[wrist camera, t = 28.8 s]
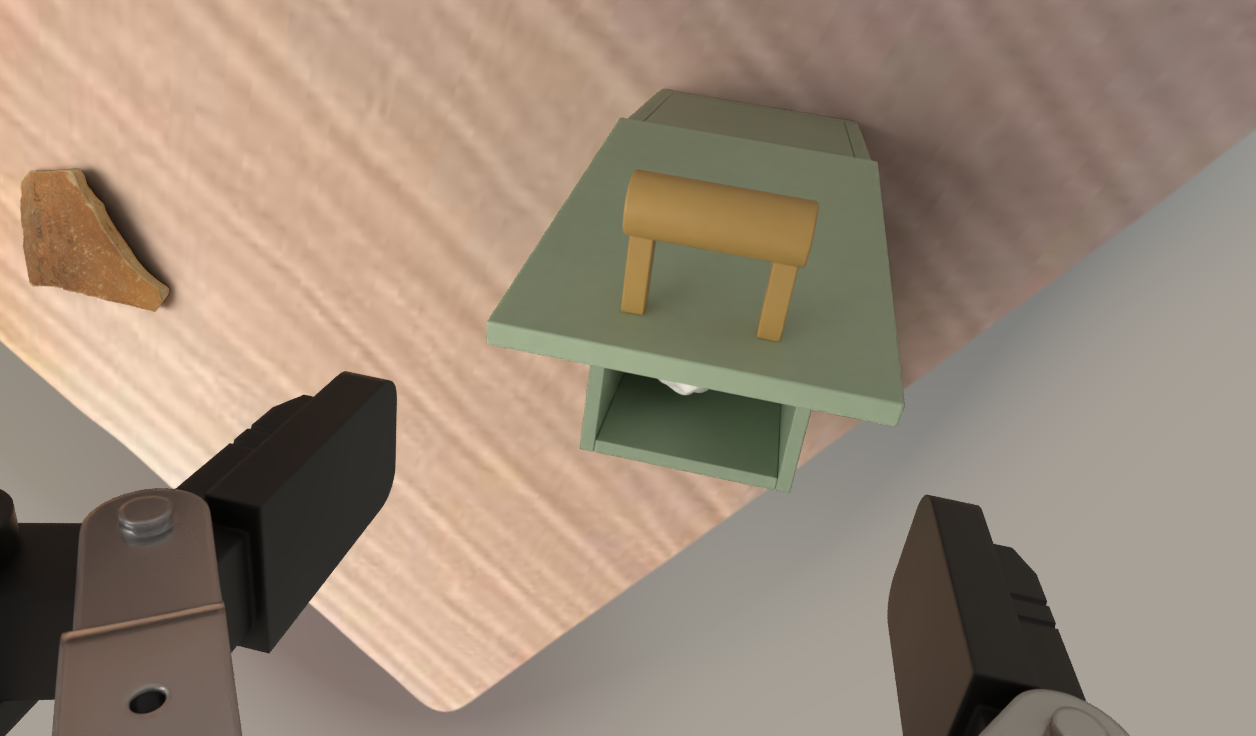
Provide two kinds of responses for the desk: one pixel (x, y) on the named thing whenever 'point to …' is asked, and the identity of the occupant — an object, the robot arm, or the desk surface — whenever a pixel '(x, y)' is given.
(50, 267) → the pottery shard
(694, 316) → the lid
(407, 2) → the desk surface
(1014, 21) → the desk surface
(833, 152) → the chest
